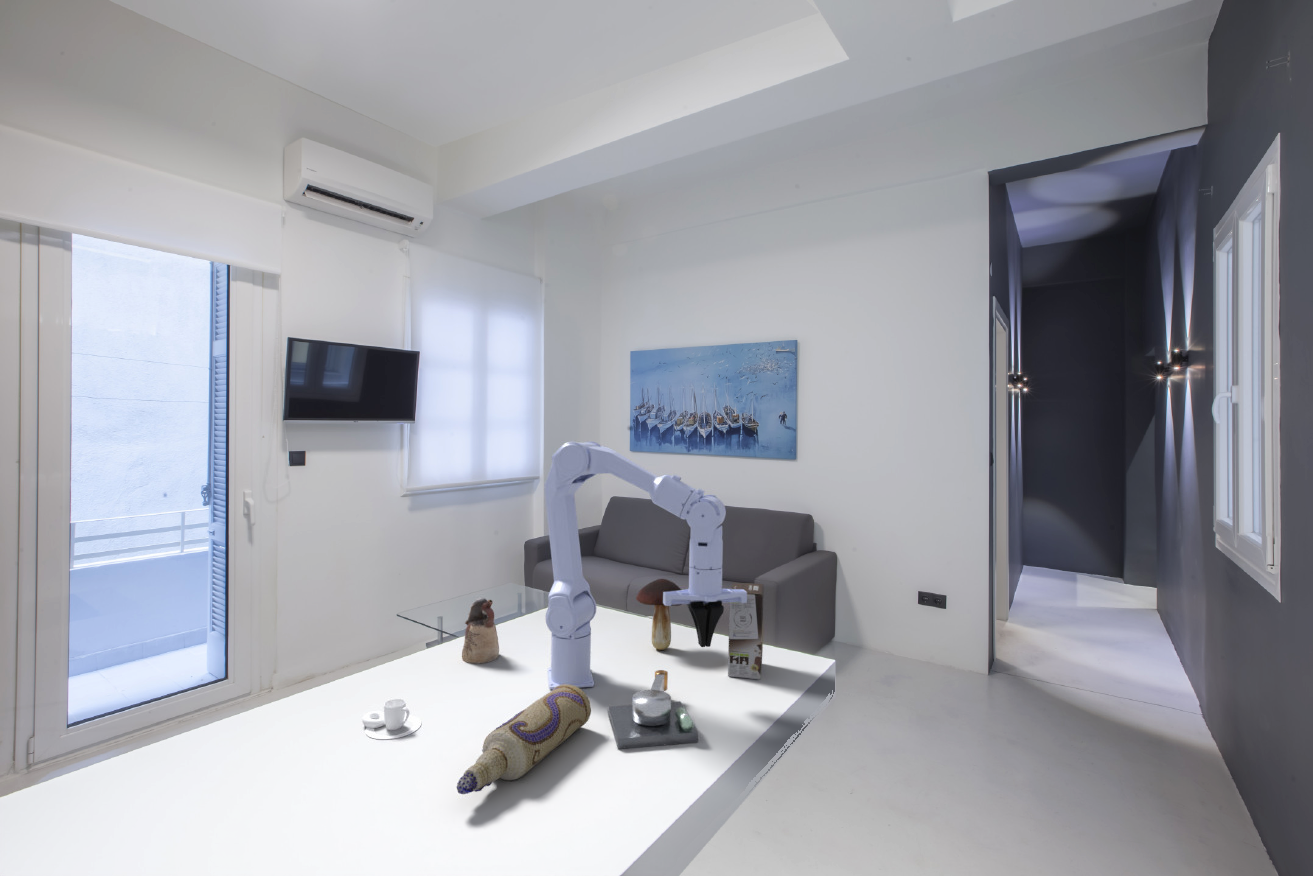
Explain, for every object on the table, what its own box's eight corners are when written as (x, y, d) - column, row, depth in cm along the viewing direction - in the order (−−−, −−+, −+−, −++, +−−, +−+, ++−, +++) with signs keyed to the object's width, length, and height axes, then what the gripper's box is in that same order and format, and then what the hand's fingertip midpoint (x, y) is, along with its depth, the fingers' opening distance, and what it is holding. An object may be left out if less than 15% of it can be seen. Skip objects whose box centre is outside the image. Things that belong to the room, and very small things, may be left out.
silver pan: (668, 727, 94) (668, 707, 94) (628, 724, 95) (629, 704, 95) (679, 687, 109) (679, 670, 109) (644, 685, 110) (645, 667, 110)
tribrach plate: (608, 715, 101) (608, 694, 101) (680, 710, 104) (680, 689, 104) (617, 749, 91) (618, 725, 91) (697, 742, 93) (698, 718, 93)
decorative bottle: (551, 720, 100) (552, 678, 100) (592, 730, 97) (593, 687, 97) (432, 806, 76) (433, 751, 76) (481, 823, 73) (483, 766, 73)
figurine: (483, 649, 132) (484, 592, 132) (506, 656, 128) (507, 597, 128) (455, 658, 126) (456, 598, 126) (477, 666, 122) (478, 604, 122)
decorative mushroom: (690, 643, 137) (691, 575, 137) (681, 660, 127) (682, 586, 127) (642, 639, 140) (643, 572, 140) (628, 655, 129) (630, 582, 129)
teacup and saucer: (354, 728, 97) (354, 701, 97) (404, 712, 102) (405, 687, 102) (378, 748, 91) (379, 720, 91) (430, 730, 96) (431, 703, 96)
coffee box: (761, 680, 117) (763, 594, 117) (727, 677, 119) (728, 592, 119) (763, 663, 126) (764, 583, 126) (731, 660, 128) (732, 581, 127)
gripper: (670, 572, 103) (668, 655, 103) (753, 570, 106) (752, 650, 106) (660, 563, 110) (659, 641, 110) (739, 561, 113) (738, 637, 113)
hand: (704, 645), depth 108 cm, fingers closed
